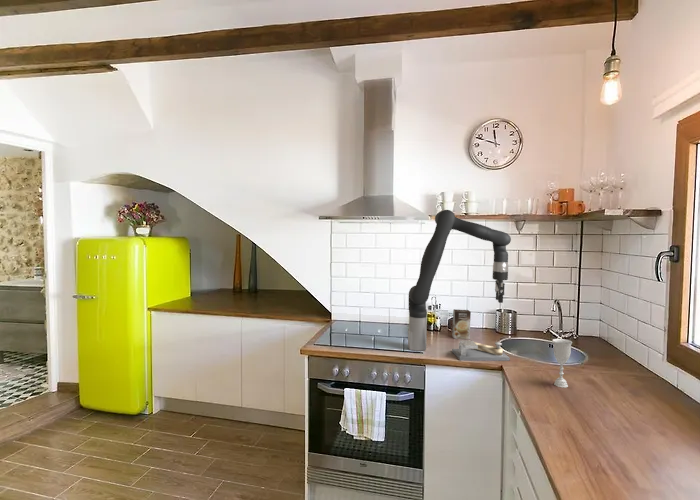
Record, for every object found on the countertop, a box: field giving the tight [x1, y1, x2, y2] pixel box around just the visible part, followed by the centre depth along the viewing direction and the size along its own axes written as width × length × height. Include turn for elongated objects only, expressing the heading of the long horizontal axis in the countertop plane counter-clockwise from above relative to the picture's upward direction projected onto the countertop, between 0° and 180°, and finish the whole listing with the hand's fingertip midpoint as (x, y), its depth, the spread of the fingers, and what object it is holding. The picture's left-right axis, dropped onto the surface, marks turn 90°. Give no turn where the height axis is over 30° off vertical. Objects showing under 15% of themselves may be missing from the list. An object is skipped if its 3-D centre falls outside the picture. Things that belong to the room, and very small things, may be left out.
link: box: [473, 341, 504, 355], centre depth 196 cm, size 18×4×2 cm, turn 41°
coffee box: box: [451, 309, 471, 340], centre depth 227 cm, size 9×6×16 cm
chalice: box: [552, 338, 573, 388], centre depth 157 cm, size 7×7×18 cm
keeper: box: [458, 339, 478, 356], centre depth 191 cm, size 7×9×7 cm
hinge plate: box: [451, 341, 511, 362], centre depth 194 cm, size 24×14×7 cm, turn 91°
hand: (499, 301), depth 204 cm, fingers open, 8 cm apart
